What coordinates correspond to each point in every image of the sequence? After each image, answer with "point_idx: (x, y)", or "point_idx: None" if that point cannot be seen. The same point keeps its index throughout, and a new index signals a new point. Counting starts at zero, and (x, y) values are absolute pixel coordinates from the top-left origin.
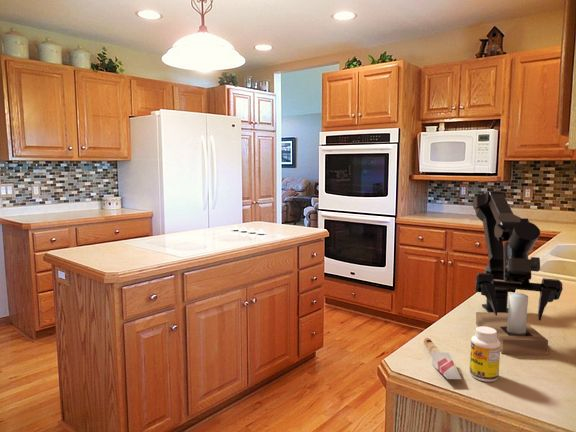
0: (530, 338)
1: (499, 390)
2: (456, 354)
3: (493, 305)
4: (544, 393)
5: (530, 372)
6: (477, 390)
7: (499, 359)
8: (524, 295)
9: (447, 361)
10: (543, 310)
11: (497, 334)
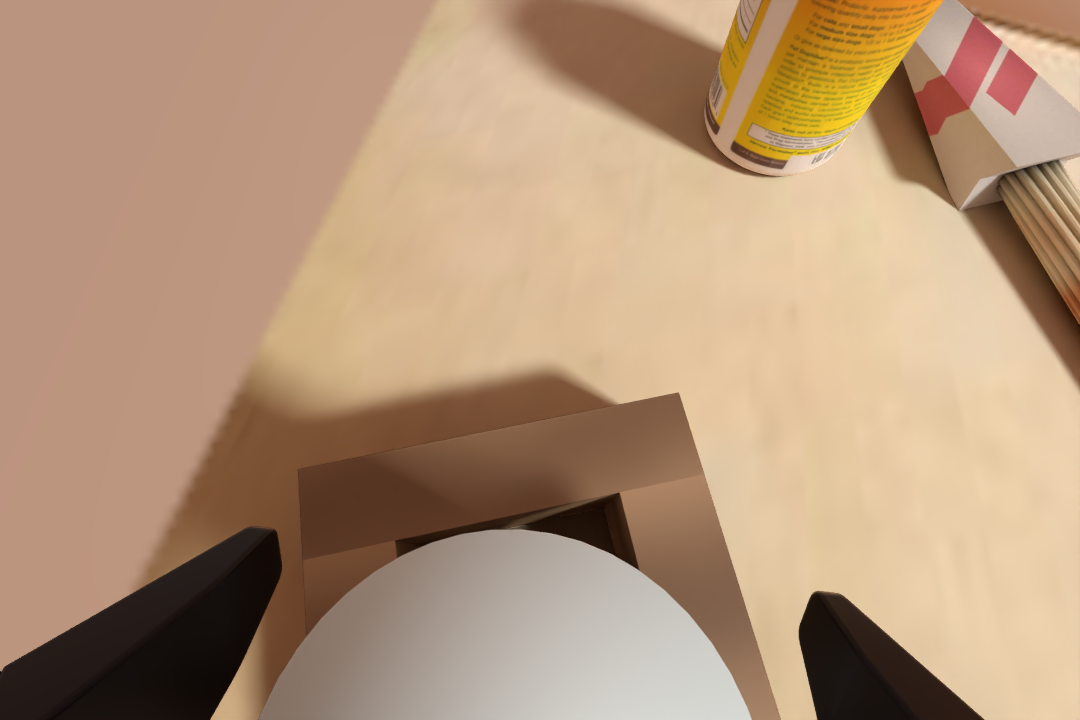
0: (441, 475)
1: (701, 35)
2: (941, 339)
3: (951, 697)
4: (516, 53)
5: (528, 218)
6: None
7: (738, 6)
8: None
9: (989, 91)
10: (122, 599)
11: (715, 520)
